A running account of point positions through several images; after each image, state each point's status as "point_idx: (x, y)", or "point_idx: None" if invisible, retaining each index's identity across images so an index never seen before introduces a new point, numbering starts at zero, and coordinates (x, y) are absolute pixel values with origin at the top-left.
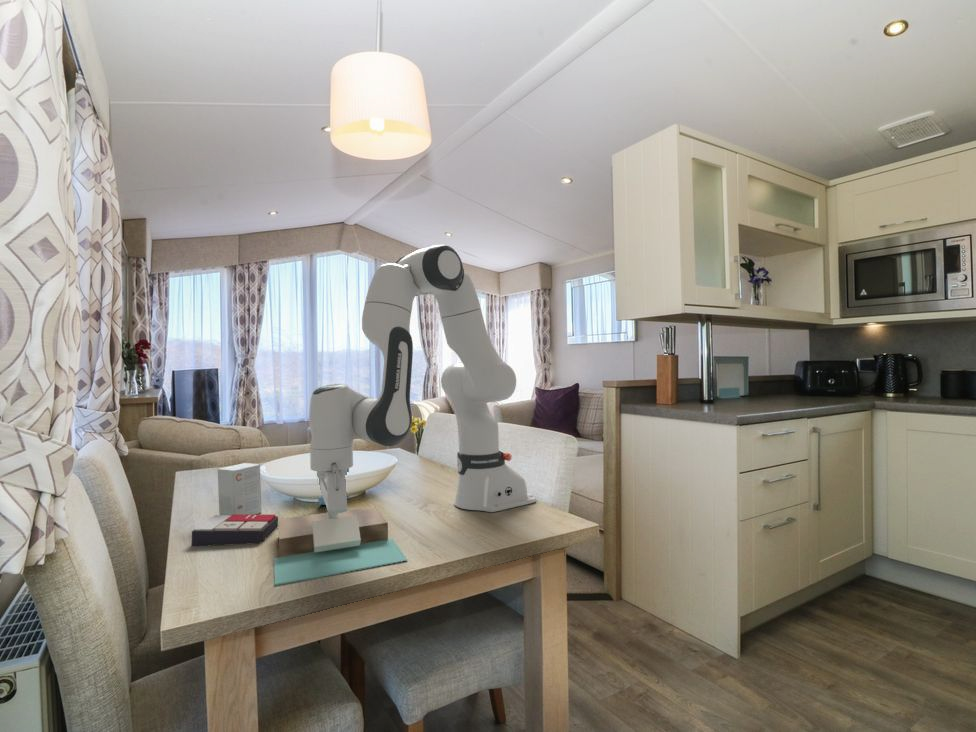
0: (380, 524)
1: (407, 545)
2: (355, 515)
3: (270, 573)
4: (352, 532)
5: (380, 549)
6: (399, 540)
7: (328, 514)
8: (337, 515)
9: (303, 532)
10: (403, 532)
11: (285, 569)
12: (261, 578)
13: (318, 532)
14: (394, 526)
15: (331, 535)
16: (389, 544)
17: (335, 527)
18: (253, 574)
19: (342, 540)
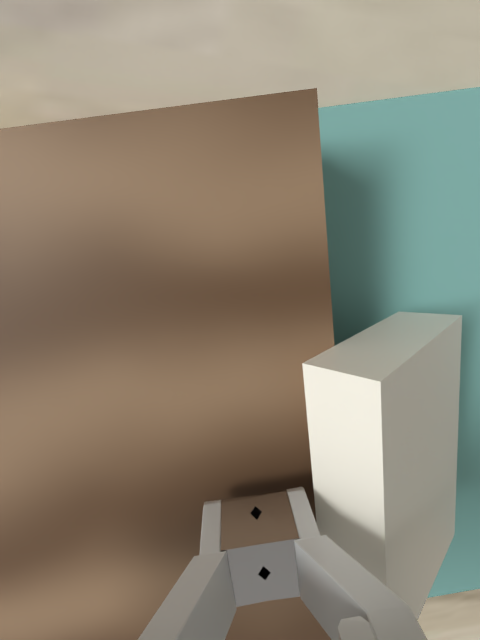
0: (319, 161)
1: (402, 32)
2: (28, 360)
3: (447, 595)
4: (442, 376)
5: (424, 202)
6: (300, 72)
7: (234, 607)
8: (334, 549)
9: (304, 627)
10: (159, 20)
11: (457, 564)
12: (474, 610)
13: (428, 577)
14: (15, 70)
15: (438, 492)
16: (370, 144)
17: (420, 502)
18: (430, 636)
19: (453, 417)
